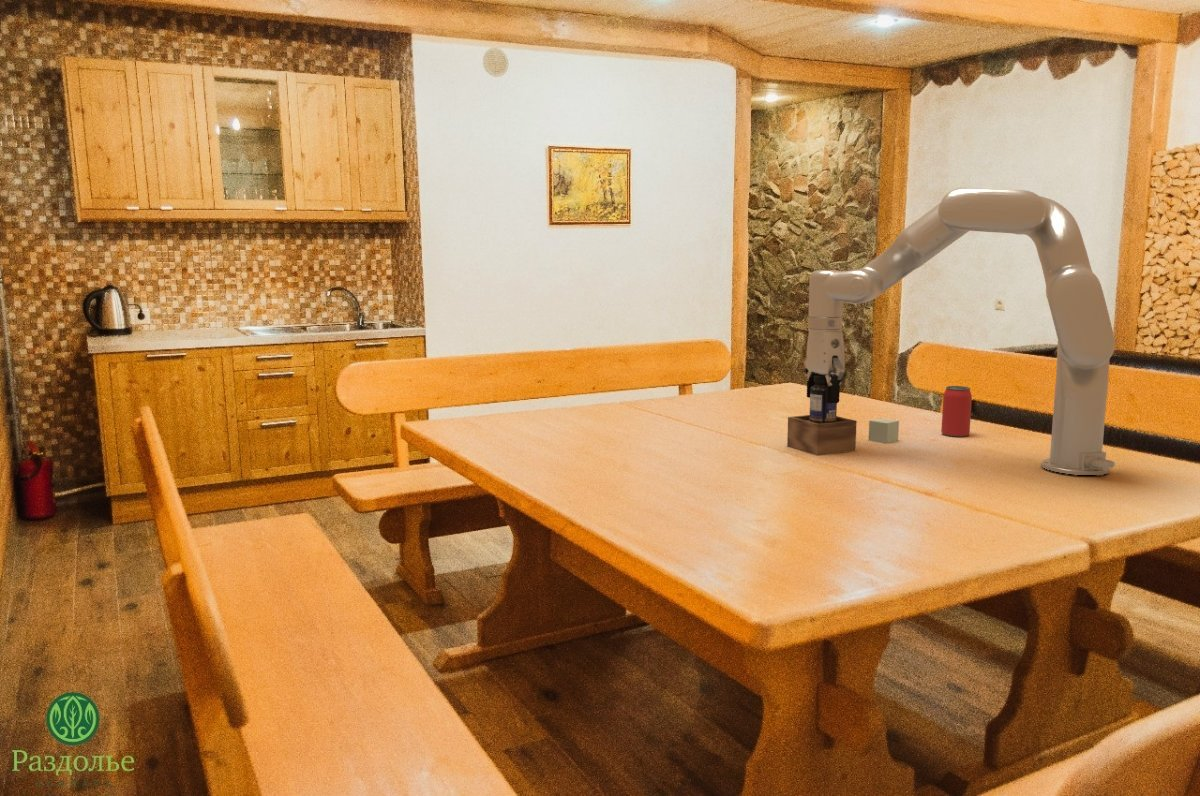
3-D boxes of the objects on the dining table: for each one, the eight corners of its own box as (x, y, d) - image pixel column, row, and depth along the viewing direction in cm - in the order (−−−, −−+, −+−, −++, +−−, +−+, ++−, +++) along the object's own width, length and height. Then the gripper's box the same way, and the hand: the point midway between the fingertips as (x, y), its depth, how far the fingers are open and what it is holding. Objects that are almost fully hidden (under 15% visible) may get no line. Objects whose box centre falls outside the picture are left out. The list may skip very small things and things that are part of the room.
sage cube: (898, 440, 217) (898, 420, 216) (886, 443, 214) (887, 423, 213) (879, 438, 221) (880, 418, 220) (868, 440, 218) (869, 420, 217)
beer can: (973, 437, 220) (976, 389, 219) (946, 437, 221) (949, 389, 219) (963, 432, 227) (966, 385, 225) (937, 432, 227) (939, 385, 225)
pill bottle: (833, 421, 210) (836, 374, 209) (838, 425, 204) (840, 377, 203) (807, 420, 211) (809, 374, 209) (810, 424, 205) (812, 377, 203)
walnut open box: (855, 450, 206) (856, 420, 205) (817, 455, 201) (818, 424, 200) (824, 441, 216) (825, 413, 215) (787, 446, 211) (788, 417, 210)
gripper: (860, 326, 197) (857, 405, 200) (821, 321, 213) (818, 394, 216) (829, 327, 195) (826, 406, 198) (792, 322, 212) (790, 395, 214)
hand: (822, 399), depth 207 cm, fingers open, 8 cm apart
